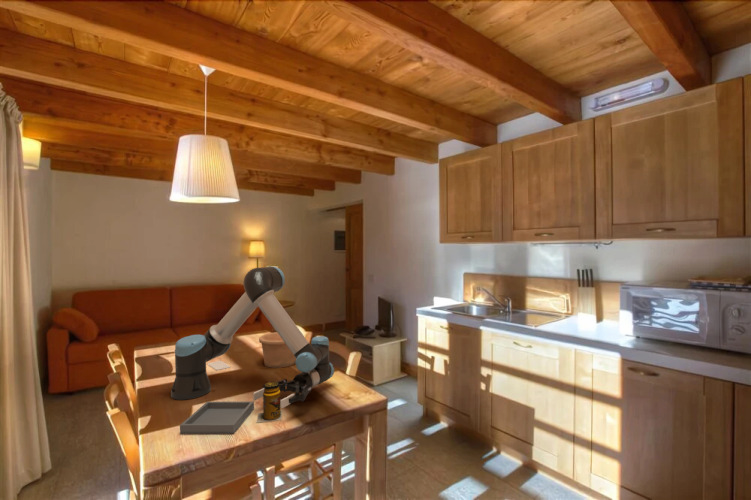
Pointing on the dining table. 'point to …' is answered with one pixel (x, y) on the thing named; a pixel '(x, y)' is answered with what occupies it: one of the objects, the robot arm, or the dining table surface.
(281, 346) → the pottery
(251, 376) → the dining table surface
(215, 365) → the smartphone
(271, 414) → the condiment
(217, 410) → the tray
